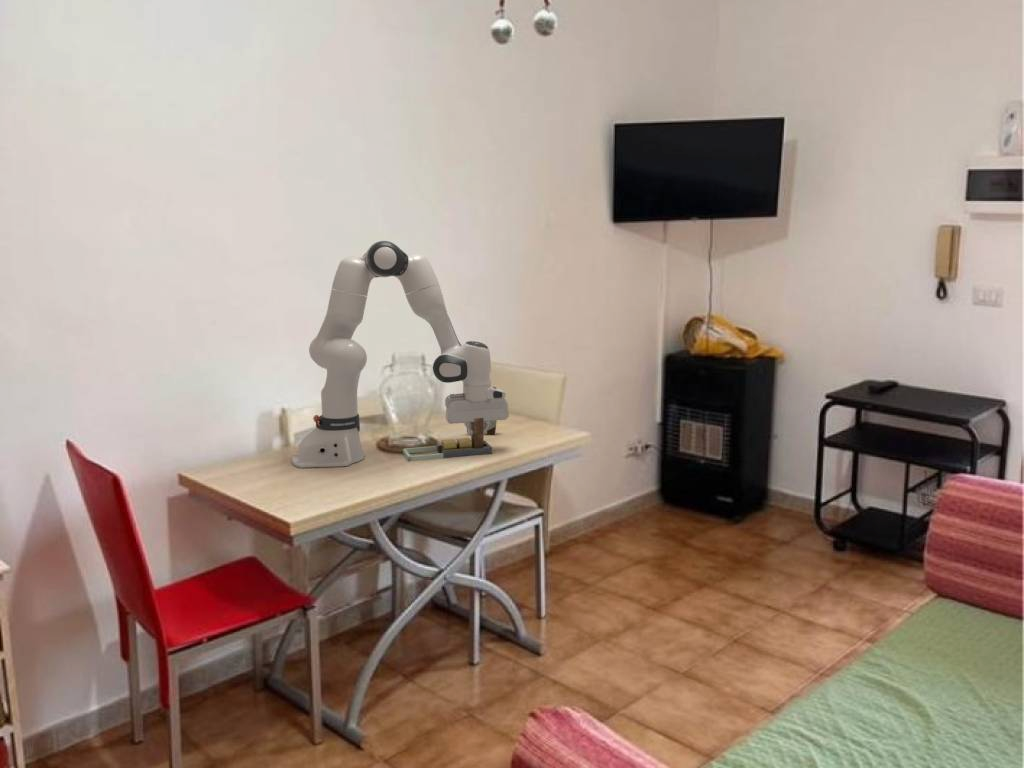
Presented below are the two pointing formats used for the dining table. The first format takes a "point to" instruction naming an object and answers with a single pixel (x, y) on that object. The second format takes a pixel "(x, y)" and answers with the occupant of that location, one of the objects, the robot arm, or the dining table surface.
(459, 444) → the olive yellow cube
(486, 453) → the dark grey tray
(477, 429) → the brown rectangular block
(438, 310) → the robot arm
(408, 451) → the tray
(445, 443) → the chip
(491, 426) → the food container
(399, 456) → the dining table surface
